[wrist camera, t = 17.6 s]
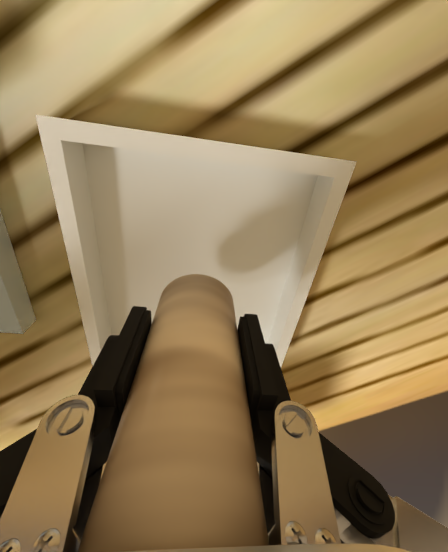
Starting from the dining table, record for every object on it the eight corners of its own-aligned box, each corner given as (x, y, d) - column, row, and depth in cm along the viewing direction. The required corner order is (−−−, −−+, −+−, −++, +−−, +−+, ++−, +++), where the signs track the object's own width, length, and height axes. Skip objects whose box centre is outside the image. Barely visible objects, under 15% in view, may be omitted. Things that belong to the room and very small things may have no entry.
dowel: (230, 334, 14) (263, 654, 5) (161, 332, 13) (73, 672, 5) (237, 275, 12) (310, 632, 3) (157, 272, 12) (-4, 661, 3)
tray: (269, 355, 21) (276, 380, 19) (107, 348, 19) (94, 374, 17) (332, 158, 13) (356, 161, 11) (68, 119, 12) (35, 114, 9)
